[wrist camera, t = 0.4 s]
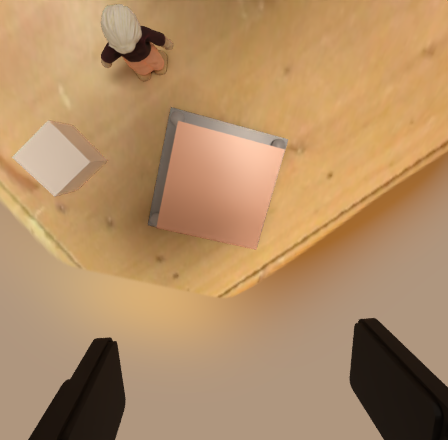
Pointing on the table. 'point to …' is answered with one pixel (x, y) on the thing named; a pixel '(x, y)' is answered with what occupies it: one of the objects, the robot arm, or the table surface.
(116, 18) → the grandmother figurine
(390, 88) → the table surface
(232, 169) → the pink framed box
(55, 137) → the white cube
